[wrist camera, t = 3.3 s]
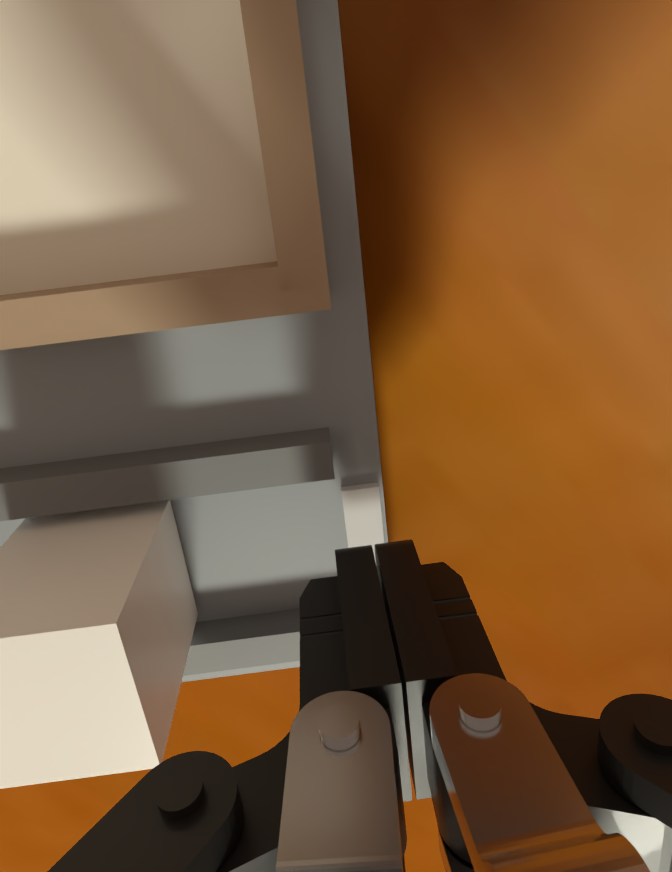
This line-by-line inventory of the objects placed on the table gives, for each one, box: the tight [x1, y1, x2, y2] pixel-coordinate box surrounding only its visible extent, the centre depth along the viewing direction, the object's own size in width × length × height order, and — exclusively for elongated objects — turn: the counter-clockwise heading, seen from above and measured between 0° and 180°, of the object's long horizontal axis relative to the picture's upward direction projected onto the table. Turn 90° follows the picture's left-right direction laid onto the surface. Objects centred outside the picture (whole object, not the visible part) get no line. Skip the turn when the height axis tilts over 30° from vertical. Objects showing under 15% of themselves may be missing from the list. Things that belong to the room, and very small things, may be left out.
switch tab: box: [0, 500, 198, 789], centre depth 11 cm, size 3×3×4 cm
